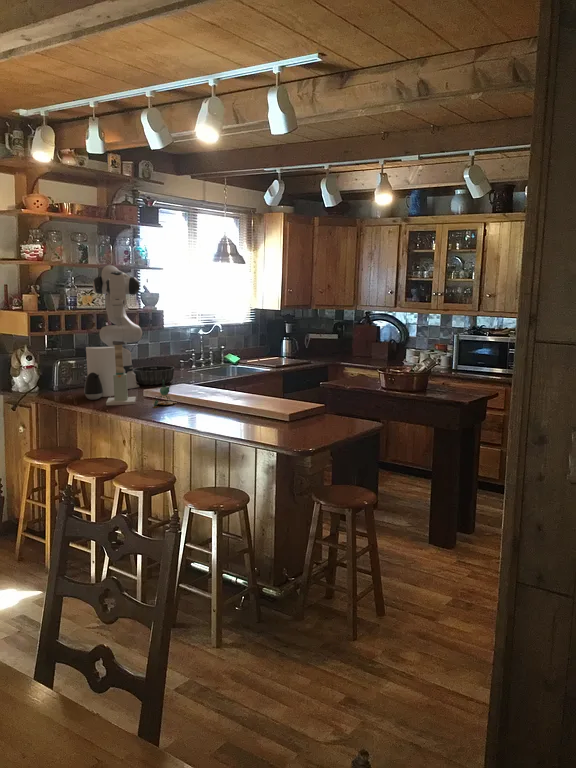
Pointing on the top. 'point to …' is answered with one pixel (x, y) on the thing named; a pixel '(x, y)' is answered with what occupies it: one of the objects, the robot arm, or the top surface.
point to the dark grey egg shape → (93, 387)
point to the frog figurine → (164, 392)
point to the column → (119, 357)
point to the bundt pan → (154, 374)
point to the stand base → (120, 392)
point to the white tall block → (102, 366)
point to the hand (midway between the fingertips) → (119, 325)
